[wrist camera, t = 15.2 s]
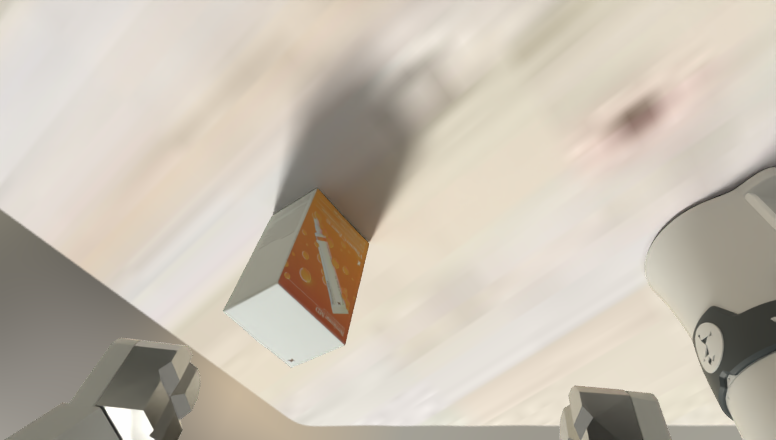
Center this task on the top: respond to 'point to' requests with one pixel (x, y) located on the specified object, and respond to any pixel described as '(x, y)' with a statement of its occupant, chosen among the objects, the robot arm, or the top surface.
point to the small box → (301, 281)
